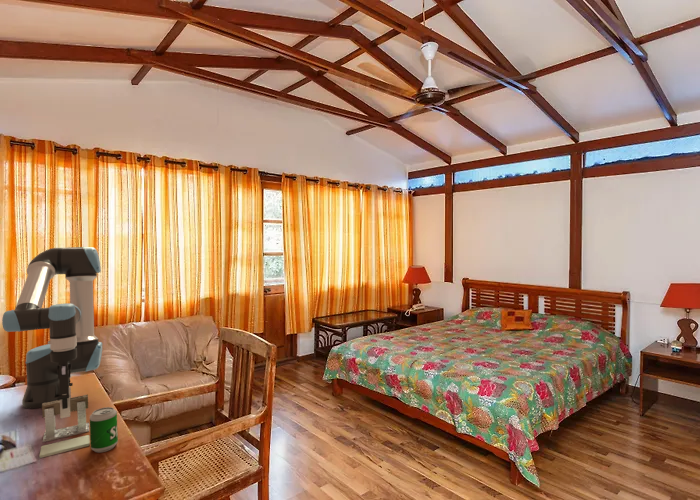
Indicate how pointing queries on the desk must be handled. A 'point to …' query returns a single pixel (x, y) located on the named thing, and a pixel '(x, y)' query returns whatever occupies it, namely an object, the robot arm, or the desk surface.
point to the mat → (64, 446)
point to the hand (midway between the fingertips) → (66, 411)
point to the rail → (57, 404)
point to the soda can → (103, 429)
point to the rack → (68, 431)
